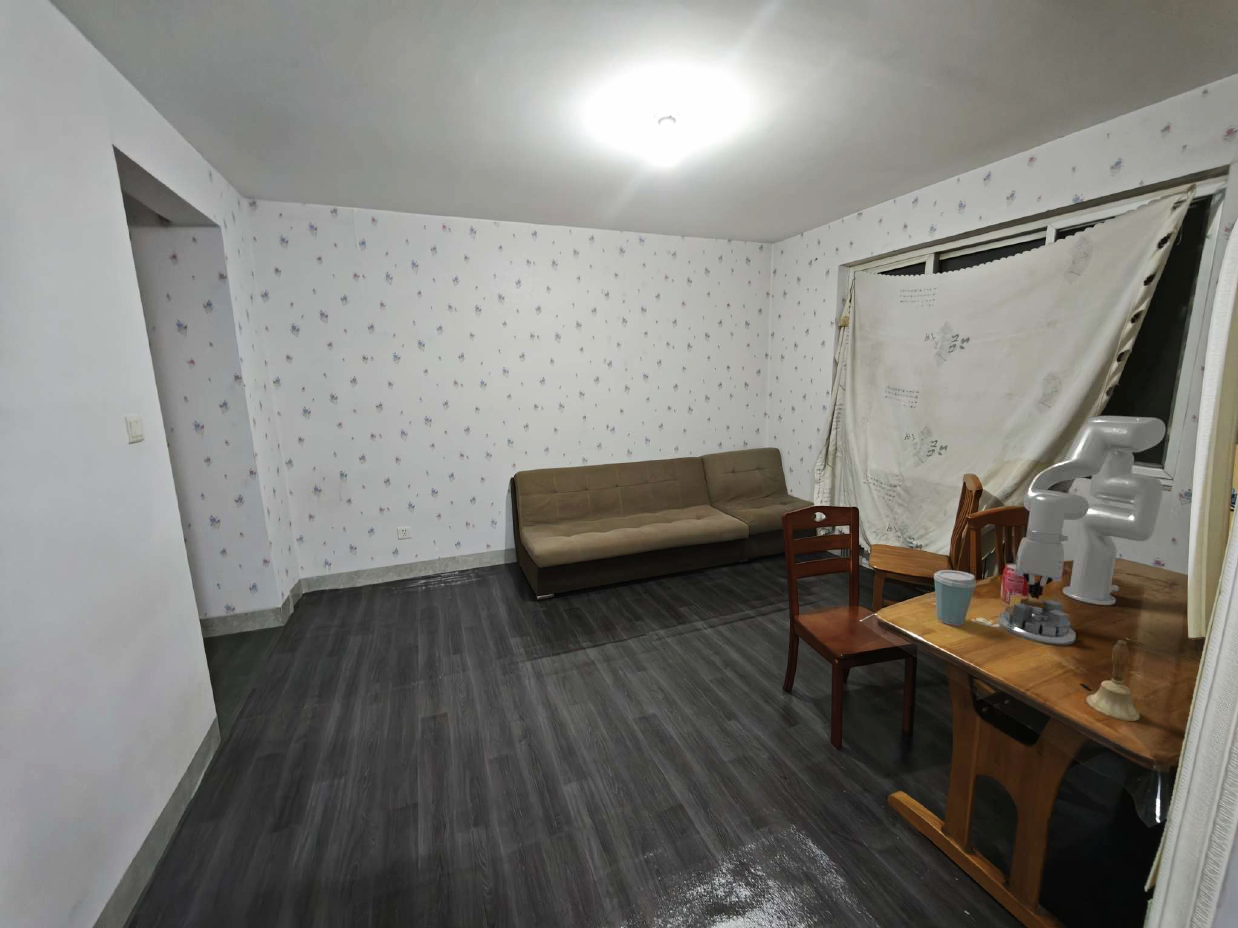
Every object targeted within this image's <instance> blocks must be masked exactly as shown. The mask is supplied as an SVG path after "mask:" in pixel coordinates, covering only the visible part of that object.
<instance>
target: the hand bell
mask: <svg viewBox="0 0 1238 928" xmlns="http://www.w3.org/2000/svg"><path fill="white" fill-rule="evenodd" d="M1129 659H1130V652H1129V647H1128V642H1127V641H1125V640H1122V639H1119V640H1117V643H1116V644H1115V645H1114V647H1113V648H1112V650H1111V661H1112V664H1113V667H1112V673H1111V680H1104V681H1102V682H1101V683H1100V686H1099V688H1098V690H1097V691H1096V692H1095V693H1094V694H1090V695H1088V696H1087V697H1086V699H1085V700H1086V704H1088V705H1089V706H1090V707H1091V708H1092V709H1093V710H1095V711H1096V712H1098V713H1100V714H1103V715H1105V716H1107V717H1110V718H1113V719H1116V720H1120V721H1124V722H1136V721H1138V720H1140V718H1141V716H1140V714H1139V712H1138V710H1137V709H1136V708H1135V707H1134V706H1133V704H1132V703H1133V702H1132V698H1131V689H1130V688H1129V687H1128V686H1126V685H1124V684H1123V683H1124V682H1123V680H1124V671H1125V668H1126V666H1127V665H1128V663H1129Z"/></svg>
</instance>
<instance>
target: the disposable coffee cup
mask: <svg viewBox="0 0 1238 928" xmlns="http://www.w3.org/2000/svg"><path fill="white" fill-rule="evenodd" d="M933 579H934V589H935V591H934V593H935V606H936V608H935V609H936V616H937V617H936V618H937V620H938V621H940V622H941V623H943V624H946V625H948V626H949V625H950V626H955V627H956V626H957V627H958V626H959V627H960V626H962V625H963V623H965V620H966V617H967V614H968V611H969V607H970V605H971V602H972V597H973V596H974V595H973V594H974V592H975V589H976V587H977V581H976V578H975V574H972V573H969V572H966V571H961V570H952V569H951V570H950V569H945V570H944V569H943V570H939V571H936V572H935V573H934V574H933Z"/></svg>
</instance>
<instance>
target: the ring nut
mask: <svg viewBox="0 0 1238 928" xmlns="http://www.w3.org/2000/svg"><path fill="white" fill-rule="evenodd" d="M1029 602H1030V597H1028V598H1027V597H1025V596H1022V595H1020V594H1015V595H1011V597H1010V603H1009V605H1008V606H1006V607H1005V610H1004V612H1005V615H1004V617H1005V619H1006V620H1007V621H1008V622H1009V623H1011V624H1012V625H1014V626H1016V627H1018V628H1020V629H1025V631H1029V632H1032V633H1036V634H1039V633H1040V634H1041V635H1046V636H1054V637H1055V636H1058V637H1059V636H1066V635H1068V633H1069V629H1070V628H1071V621H1070V620H1069V614H1068V613H1066V612H1064V611H1063V605H1064V604H1063V603H1061V602H1058V601H1056V600H1054V599H1047V600H1043V602H1042V603H1043V604H1042V608H1041V607H1037V606H1032V605H1029ZM1033 610H1036V611H1040V612H1043V613H1045V614H1047V615H1048V617H1047V622H1044V621H1037V620H1034V619H1032V614H1033Z"/></svg>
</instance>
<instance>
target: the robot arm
mask: <svg viewBox="0 0 1238 928" xmlns="http://www.w3.org/2000/svg"><path fill="white" fill-rule="evenodd" d="M1165 434H1166V425H1165V423H1164V421H1163V420H1162V419H1160V418H1157V417H1148V416H1147V417H1145V416H1143V417H1142V416H1140V417H1139V416H1123V415H1100V416H1093V417H1091V418H1090V419H1088V421H1087V422H1086V424H1083V425H1082V426H1081V428H1080V430H1079V431H1078V433H1077V435H1076V436H1075V438H1074V440H1073V442H1072V443H1071V446H1070V448H1069V449H1068V451H1067V454H1066V456H1065V458H1064V459H1063V460H1062V461H1060V462H1057V463H1055V464H1053V465H1050V466H1049V467H1047V468H1046V469H1044V470H1042V471H1041V472H1039V473H1038V474H1037V475H1036V476H1035V477H1034V478H1033V479H1032V481H1031V482H1030V484H1029V486H1028V489H1027V490H1026V492H1025V494H1024V498H1023V505H1024V508H1025V509H1026V510H1027V511H1029V516H1028V521H1027V522H1028V523H1027V529H1026V537H1022V539H1021V540H1020V543H1019V547H1018V549H1017V554H1016V560H1015V564H1016V568H1015V570H1014V573H1015V574H1016V575H1019V576H1022V577H1024V578H1025V579H1026V580H1027V581H1028V582H1029V587H1028V593H1029V595H1030V598H1031V599H1036V600H1039V599H1040V596H1041V597H1042V596H1043V590H1044V587H1045V586H1046V585H1048V584H1050V583H1053V582H1054V583H1059V582H1060V583H1062V582H1063V579H1062V578H1063V576H1062V575H1063V571H1064V563H1065V562H1064V554H1065V553H1064V543H1062V542H1064V541H1068V539H1069V537H1068V535H1065V534H1064V535H1063V534H1062V533H1063V527H1064V520H1065V521H1066V520H1067V521H1076V528H1077V529H1076V530H1077V531H1076V532H1077V533H1076V534H1077V535H1076V543H1075V551H1074V556H1073V563H1072V570H1071V576H1070V577H1071V578H1070V584H1069V586H1065V587H1063V588H1062V592H1063V594H1064V595H1066V596H1067V597H1069V598H1071V599H1074V600H1076V601H1080V602H1084V603H1087V604H1092V605H1100V606H1112V605H1114V604H1116V603H1117V602H1116V598H1115V597H1114V596H1113V595H1111V593H1112V592H1118V591H1119V590H1120V588H1119V586H1118V585H1117V584H1112V582H1113V575H1114V570H1115V564H1116V559H1117V558H1116V557H1117V554H1118V551H1117V546H1116V544H1115V542H1114V541H1113V539H1112V537H1113V538H1118V539H1119V538H1120V539H1124V540H1128V541H1134V542H1145V541H1148V540H1149V539H1151V537H1152V536H1153V533H1154V531H1155V529H1156V524H1157V519H1158V515H1159V511H1160V506H1161V503H1162V499H1163V493H1164V492H1163V490H1164V489H1163V488H1164V487H1163V484H1162V482H1161V481H1160V479H1159V478H1158V477H1155V476H1152V475H1146V474H1138V473H1133V468H1134V467H1133V466H1134V461H1135V457H1134V454H1133V453H1141V452H1143V451H1146V450H1148V449H1151V448H1153V447H1155V446H1157V445H1158V444H1159V443H1160V442H1161V441H1163V439H1164V438H1165ZM1086 477H1087V478H1088V477H1091V480H1090V483H1089V484H1090V485H1089V494H1090V495H1091V496H1092V497H1093V498H1095V499H1098V500H1102V501H1108V502H1111V503H1112V502H1114V503H1120V504H1124V505H1125V504H1126V505H1132V506H1133V507H1134V508H1128V507H1127V508H1126V507H1120V506H1115V505H1110V504H1104V503H1103V504H1102V503H1089V502H1088V500H1087V499H1086V498H1085V497H1084V496H1082V495H1078V494H1075V493H1068V492H1062V491H1058V490H1057V491H1056V490H1050V489H1049V488H1050V487H1051V486H1053V485H1056V484H1058V483H1060V482H1065V481H1068V480H1075V479H1076V480H1077V479H1081V478H1086ZM1035 576H1039V579H1038V581H1035Z"/></svg>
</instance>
